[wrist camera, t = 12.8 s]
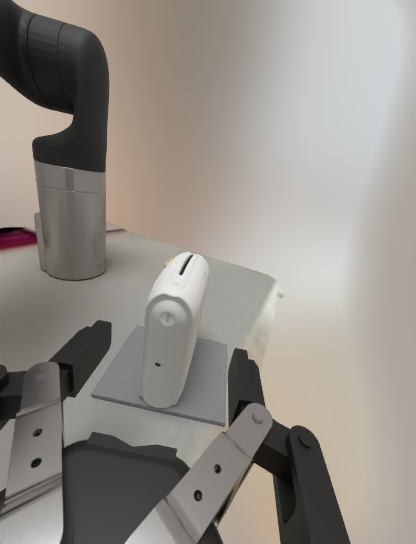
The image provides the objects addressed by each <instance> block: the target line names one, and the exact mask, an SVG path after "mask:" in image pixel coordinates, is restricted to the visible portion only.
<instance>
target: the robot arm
mask: <svg viewBox="0 0 416 544" xmlns="http://www.w3.org/2000/svg"><path fill="white" fill-rule="evenodd" d="M0 77H2V78H3V79H4V80H5V81H6V82H7V83H9V84H10V85H11V86H12V87H13V88H14V89H16V90H17V91H18V92H19V93H21V94H22V95H23V96H24V97H26V98H27V99H29V100H30V101H32V102H34V103H35V104H37V105H39V106H41V107H44V108H47V109H50V110H55V111H59V112H63V113H68V114H72V115H74V116H73V121H72V124H71V125H70V126H69V127H68V128H67V129H65V130H63V131H62V132H59V133H56V134H53V135H48V136H42V137H37V138H35V139H34V140H33V143H32V150H33V157H34V165H35V174H36V182H37V191H38V199H39V208H40V212H39V213H36V214H35V215H34V219H35V227H36V235H37V243H38V251H39V259H40V266H41V270H45V271H47V272H48V274H50V275H51V276H53V277H56V278H60V279H67V280H81V279H89V278H93V277H96V276H99V275H100V274H102V273H103V272H104V271H105V269H106V192H105V191H106V178H105V177H106V173H105V171H106V170H105V169H106V151H107V120H108V103H109V71H108V63H107V58H106V55H105V51H104V48H103V46H102V44H101V42H100V40H99V39H98V38H97V36H96V35H95V34H94V33H92V32H90V31H89V30H86V29H84V28H81V27H78V26H75V25H71V24H68V23H65V22H62V21H58V20H55V19H52V18H48V17H45V16H41V15H38V14H35V13H32V12H29V11H27V10H25V9H23V8H22V7H20V6H18V5H17V4H16V3H14V2H13V1H12V0H0ZM110 345H111V322H106V321H101V320H98V321H96V323H95V324H94V325H93V326H92V327H88V326H87V327H85V328H83V329H82V330H80V331H78V332H77V333H76V334H75V335H74V336H73V338H71V339H70V340H69V341H68V343H66V344H65V345H64V346H63V347H62V348H61V349H60V350H59V351H58V352H57V353H56V354H55V355H54V356H53V357H52V358H51V359H50V360H49V361H48V362H42V363H39V364H37V365H35V366H33V367H31V368H30V369H29V370H28V371H21V372H7V369H6V367H5V366H3V365H0V430H1V429H2V428H3V427H4V425H5V424H6V423H7V422H8V421H9V420H10V419H15V418H16V420H15V427H14V435H13V442H12V450H11V457H10V465H9V472H8V480H7V487H6V488H5V489H4V490H2V491H1V492H0V544H223V542H222V539H221V537H220V535H219V532H218V530H217V526H218V525H219V523H220V521H221V520H222V518H223V516H224V514H225V513H226V511H227V509H228V508H229V506H230V504H231V502H232V500H233V498H234V496H235V494H236V493H237V491H238V489H239V488H240V486H241V484H242V483H243V481H244V479H245V478H246V476H247V474H248V473H249V471H250V469H251V468H252V466H253V464H254V463H256V464H257V465H259V466H260V467H262V468H264V469H266V470H267V471H269V472H270V473H272V474H273V482H274V490H275V499H276V508H277V516H278V525H279V533H280V542H281V544H350V541H349V537H348V534H347V531H346V528H345V524H344V521H343V518H342V515H341V512H340V508H339V505H338V502H337V499H336V496H335V493H334V489H333V486H332V483H331V480H330V476H329V473H328V470H327V467H326V464H325V460H324V457H323V454H322V451H321V448H320V444H319V442H318V440H317V439H316V437H315V436H314V434H313V433H311V431H309V430H308V429H306V428H305V427H302V426H294V427H292V428H291V429H289V428H287V427H285V426H283V425H281V424H279V423H278V422H276V421H275V420H274V419H272V416H271V414H270V413H269V411H268V410H267V409H266V407H265V402H264V396H263V391H262V385H261V379H260V374H259V368H258V366H257V365H256V363H255V361H254V360H249V359H248V354H247V350H243V349H238V348H235V349H234V352H233V355H232V359H231V362H230V366H229V371H228V409H229V428H228V430H227V431H226V432H221V433H220V434H219V435H218V437H217V438H216V439H215V440H214V441H213V443H212V444H211V445H210V446H209V447H208V448H207V450H206V451H205V452H204V453H203V454H202V456H201V457H200V458H199V459H198V460H197V462H196V463H195V464H194V465H193V466H192V467H191V469H190V468H189V467H188V465H187V464H186V463H185V462H183V461H182V460H181V459H179V458H178V457H176V452H177V449H175V448H170V447H165V446H160V445H148V446H137V447H133V446H130V445H128V444H127V443H125V442H123V441H121V440H119V439H118V438H116V437H114V436H111V435H106V434H101V433H96V432H92V434H91V436H90V438H89V439H88V440H82V441H78V442H75V443H73V444H71V445H68V446H66V447H65V436H64V415H63V401H64V400H65V399H66V397H67V396H69V397H74V398H75V397H76V395H77V394H78V393H79V391H80V390H81V388H82V387H83V386H84V384H85V383H86V381H87V380H88V379H89V377H90V376H91V374H92V373H93V371H94V370H95V369H96V367H97V366H98V364H99V363H100V362H101V360H102V359H103V357H104V356H105V355H106V353H107V352H108V350H109V348H110Z"/></svg>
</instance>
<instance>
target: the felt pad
mask: <svg viewBox="0 0 416 544" xmlns="http://www.w3.org/2000/svg"><path fill="white" fill-rule="evenodd" d="M143 331H144V327H142V326H138V325H137V326H136V327H135V329H134V330H133V332H132V333H131V335H130V336H129V338H128V339H127V341H126V342H125V344H124V345H123V347H122V348H121V350H120V352H119V353H118V355H117V356H116V358H115V359H114V361H113V362H112V364H111V365H110V367H109V368H108V370H107V371H106V373H105V374H104V376H103V377H102V379H101V380H100V382H99V383H98V385H97V386H96V388H95V389H94V391H93V392H92V397H94V398H99V399H103V400H108V401H112V402H117V403H121V404H126V405H130V406H135V407H139V408H144V409H148V410H153V411H158V412H162V413H167V414H171V415H176V416H180V417H185V418H189V419H194V420H198V421H203V422H207V423H212V424H216V425H221V426H224V425H225V404H226V358H227V345H226V344H221V343H217V342H212V341H207V340H203V339H198V338H197V339H196V343H195V347H194V352H193V356H192V360H191V364H190V368H189V371H188V375H187V379H186V382H185V385H184V389H183V391H182V394H181V396H180V398H179V400H178V402H177V404H176V405H173V404H172V405H171V406H170V407H167V408H155V407H152V406H150V405H148V404H147V403H146V402H145V401H144V400H143V397H141V396H139V393H138V390H139V379H140V368H141V356H142V344H143Z"/></svg>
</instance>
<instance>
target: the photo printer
mask: <svg viewBox="0 0 416 544" xmlns="http://www.w3.org/2000/svg"><path fill="white" fill-rule="evenodd" d="M208 279H209V268H208V264H207V262H206V261H205V259H204V258H203V257H202V256H201V255H199V254H192V253H190V252H185V253H182V254H180V255H178V256H176V257H175V258H174V259H173V260H171V261H170V262H169V263H168V264H167V265H166V267H165V268H164V270H163V271H162V272H161V274H160V275H159V277H158V278H157V280H156V282H155V283H154V285H153V287H152V289H151V292H150V295H149V297H148V301H147V304H146V309H145V320H144V331H143V344H142V356H141V368H140V379H139V390H138V393H139V396H141V397H143V400H144V401H145V402H146V403H147V404H148V405H150V406H152V407H155V408H167V407H170V406H171V405H172V404H173V405H176V404H177V402H178V400H179V398H180V396H181V394H182V391H183V389H184V385H185V382H186V379H187V375H188V371H189V368H190V364H191V360H192V356H193V352H194V347H195V343H196V339H197V334H198V330H199V325H200V319H201V314H202V309H203V304H204V299H205V294H206V289H207V284H208Z"/></svg>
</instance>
